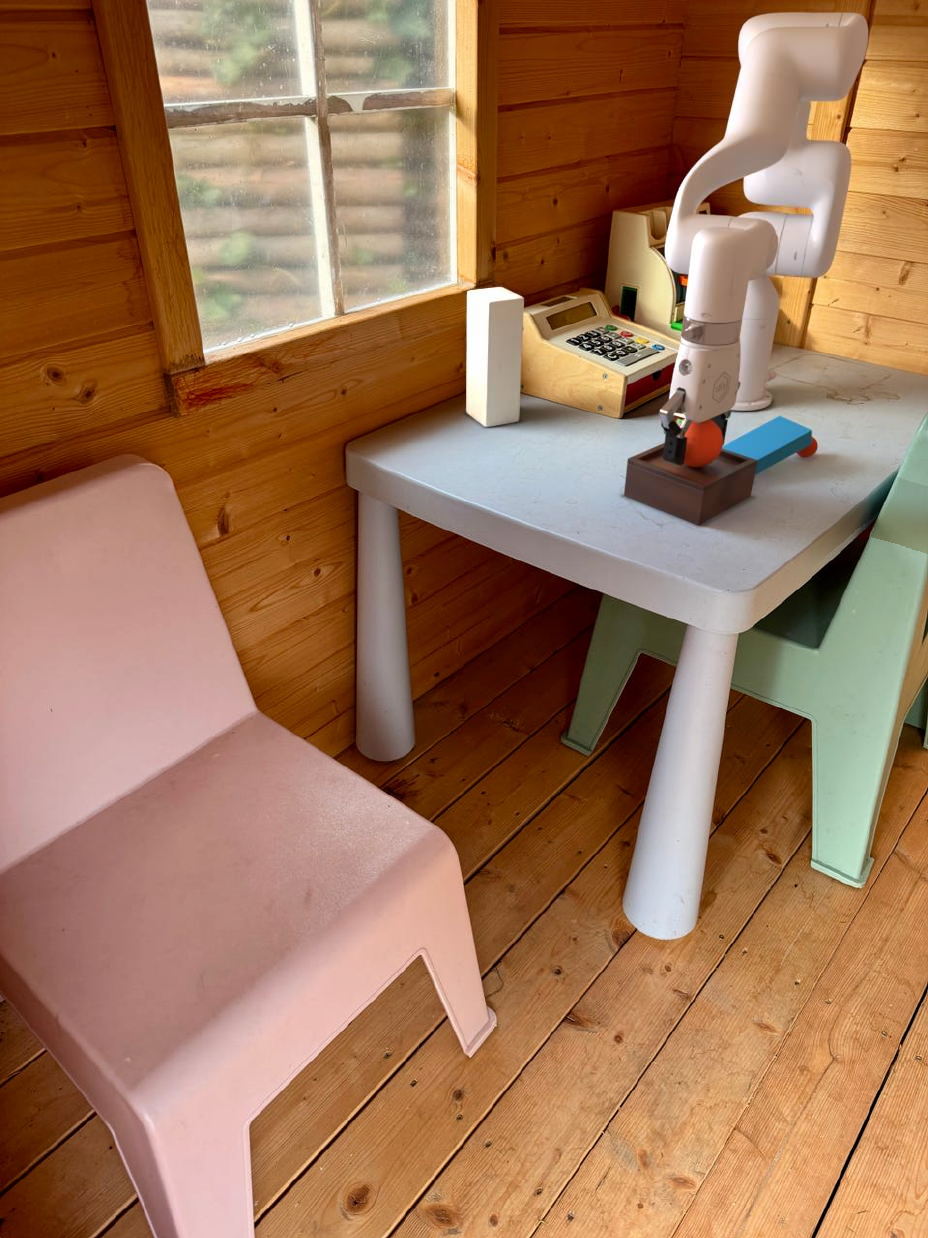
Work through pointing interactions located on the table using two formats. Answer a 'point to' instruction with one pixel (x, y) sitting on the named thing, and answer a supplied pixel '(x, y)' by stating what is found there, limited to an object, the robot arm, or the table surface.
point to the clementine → (702, 443)
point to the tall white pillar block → (494, 355)
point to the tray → (690, 484)
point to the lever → (774, 443)
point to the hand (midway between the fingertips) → (693, 452)
